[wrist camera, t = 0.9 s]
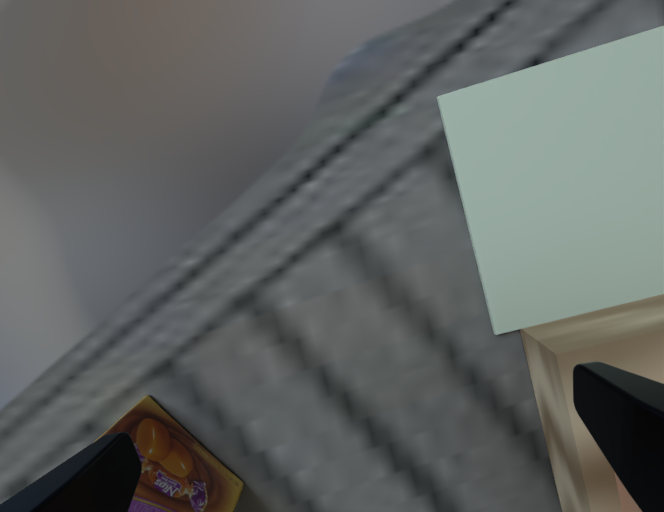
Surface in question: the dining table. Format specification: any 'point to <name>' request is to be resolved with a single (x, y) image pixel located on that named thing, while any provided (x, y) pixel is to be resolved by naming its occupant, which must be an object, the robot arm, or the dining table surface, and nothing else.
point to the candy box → (174, 465)
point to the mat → (564, 181)
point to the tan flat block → (557, 389)
